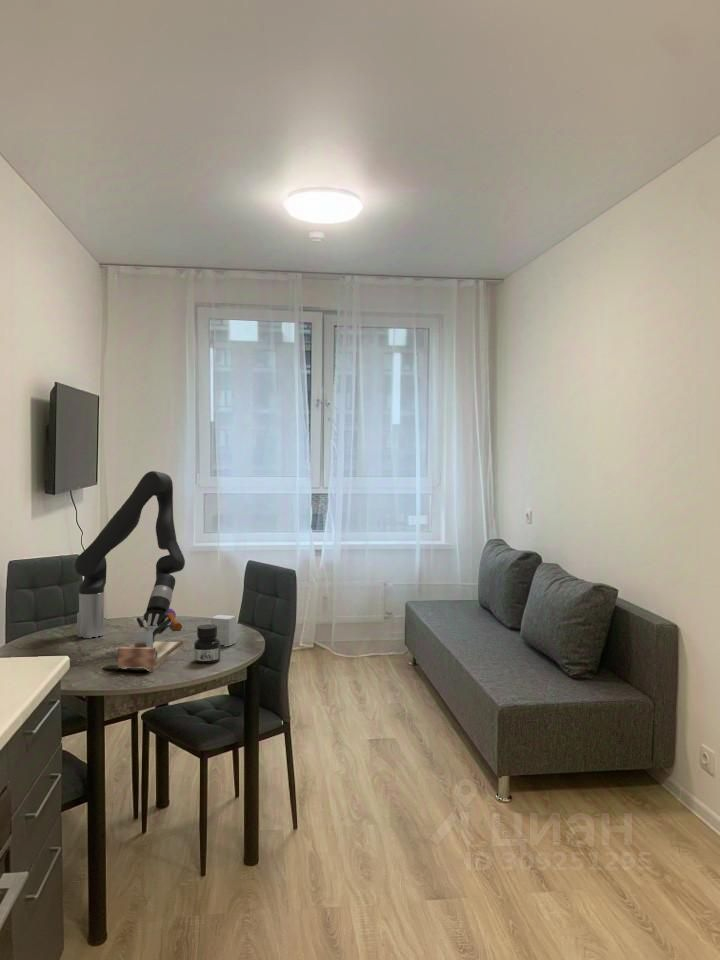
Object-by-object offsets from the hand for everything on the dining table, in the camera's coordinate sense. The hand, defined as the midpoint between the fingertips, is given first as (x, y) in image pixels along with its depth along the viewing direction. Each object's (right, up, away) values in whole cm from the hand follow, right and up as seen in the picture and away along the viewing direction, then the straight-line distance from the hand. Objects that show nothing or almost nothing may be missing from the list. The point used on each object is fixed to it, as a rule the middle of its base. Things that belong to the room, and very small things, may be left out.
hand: (148, 643), depth 248 cm
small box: (+22, -6, +24) cm, 33 cm away
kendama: (-6, -5, +53) cm, 54 cm away
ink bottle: (+20, -7, +2) cm, 21 cm away
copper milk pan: (0, -6, +5) cm, 8 cm away
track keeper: (0, -5, -3) cm, 6 cm away
